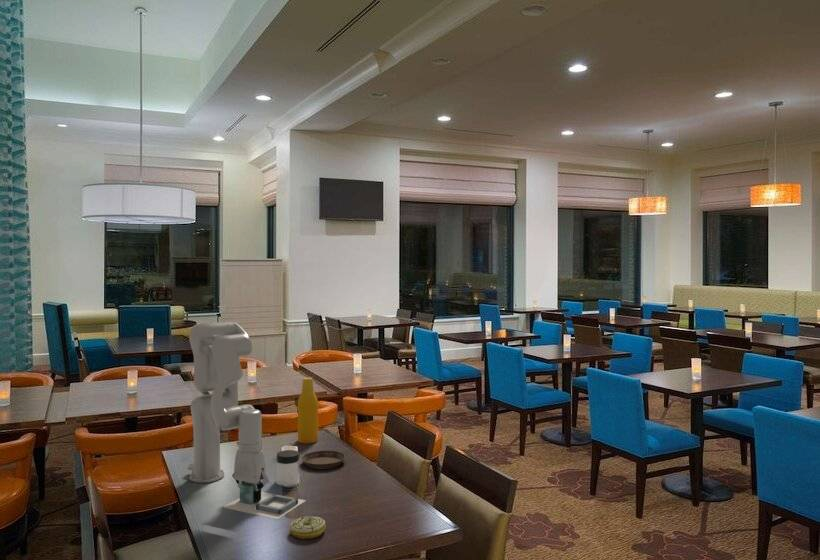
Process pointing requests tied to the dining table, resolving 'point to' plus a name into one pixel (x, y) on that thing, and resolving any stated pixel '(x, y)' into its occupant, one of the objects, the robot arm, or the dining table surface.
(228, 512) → the dining table surface
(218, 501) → the dining table surface
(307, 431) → the beer bottle
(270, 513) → the board
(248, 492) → the teal block
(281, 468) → the jar
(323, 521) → the decorated donut
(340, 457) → the plant saucer
